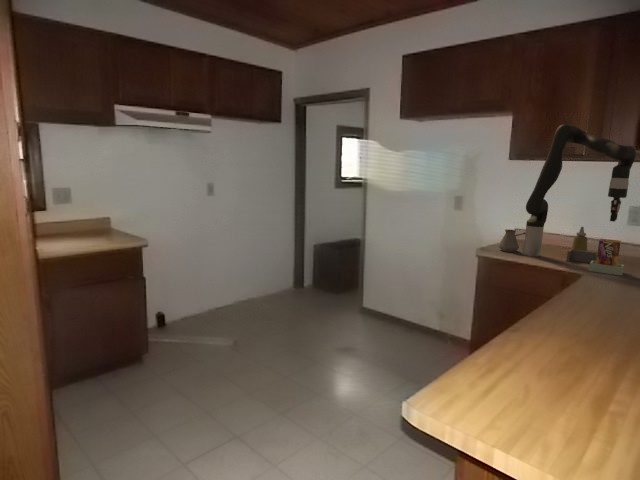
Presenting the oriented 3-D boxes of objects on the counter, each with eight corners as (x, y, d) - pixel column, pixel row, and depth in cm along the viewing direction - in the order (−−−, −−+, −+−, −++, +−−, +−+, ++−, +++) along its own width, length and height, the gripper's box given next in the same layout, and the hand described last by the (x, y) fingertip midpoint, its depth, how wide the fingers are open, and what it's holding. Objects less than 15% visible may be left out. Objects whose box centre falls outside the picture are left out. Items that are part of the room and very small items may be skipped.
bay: (566, 261, 236) (567, 251, 235) (568, 259, 242) (569, 249, 241) (596, 266, 227) (598, 255, 226) (598, 263, 233) (600, 252, 232)
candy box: (616, 270, 214) (621, 240, 211) (616, 271, 211) (620, 241, 208) (595, 267, 219) (600, 238, 217) (594, 268, 216) (599, 239, 213)
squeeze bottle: (581, 256, 253) (586, 226, 250) (588, 259, 245) (593, 228, 242) (567, 255, 254) (571, 225, 251) (574, 258, 246) (578, 227, 243)
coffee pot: (497, 251, 260) (499, 226, 257) (499, 248, 270) (501, 224, 267) (536, 255, 250) (539, 230, 247) (536, 252, 260) (539, 228, 257)
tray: (588, 270, 216) (589, 263, 215) (590, 267, 222) (591, 260, 222) (621, 275, 208) (622, 267, 207) (622, 272, 214) (623, 264, 214)
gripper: (610, 186, 215) (605, 218, 218) (607, 187, 204) (602, 221, 207) (628, 187, 211) (623, 220, 214) (627, 188, 200) (621, 222, 203)
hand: (613, 220), depth 211 cm, fingers open, 8 cm apart
